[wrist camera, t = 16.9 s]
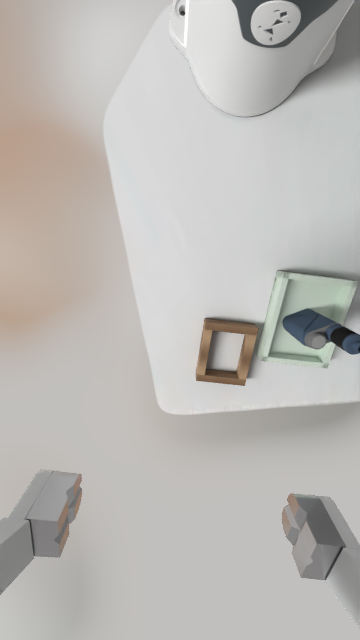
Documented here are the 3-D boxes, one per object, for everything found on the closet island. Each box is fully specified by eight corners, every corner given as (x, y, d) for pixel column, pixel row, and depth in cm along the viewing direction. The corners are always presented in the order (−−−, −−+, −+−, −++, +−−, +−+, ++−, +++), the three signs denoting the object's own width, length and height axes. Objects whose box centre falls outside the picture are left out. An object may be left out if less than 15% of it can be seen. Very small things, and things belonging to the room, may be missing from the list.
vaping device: (315, 320, 37) (375, 354, 25) (282, 331, 37) (327, 370, 26) (312, 305, 36) (372, 334, 25) (278, 317, 37) (322, 351, 25)
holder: (204, 318, 37) (205, 322, 35) (254, 324, 38) (258, 328, 36) (195, 374, 41) (196, 380, 39) (241, 379, 41) (244, 385, 39)
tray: (277, 270, 35) (284, 272, 33) (346, 279, 35) (358, 281, 33) (256, 353, 39) (261, 360, 37) (318, 360, 40) (327, 368, 37)
